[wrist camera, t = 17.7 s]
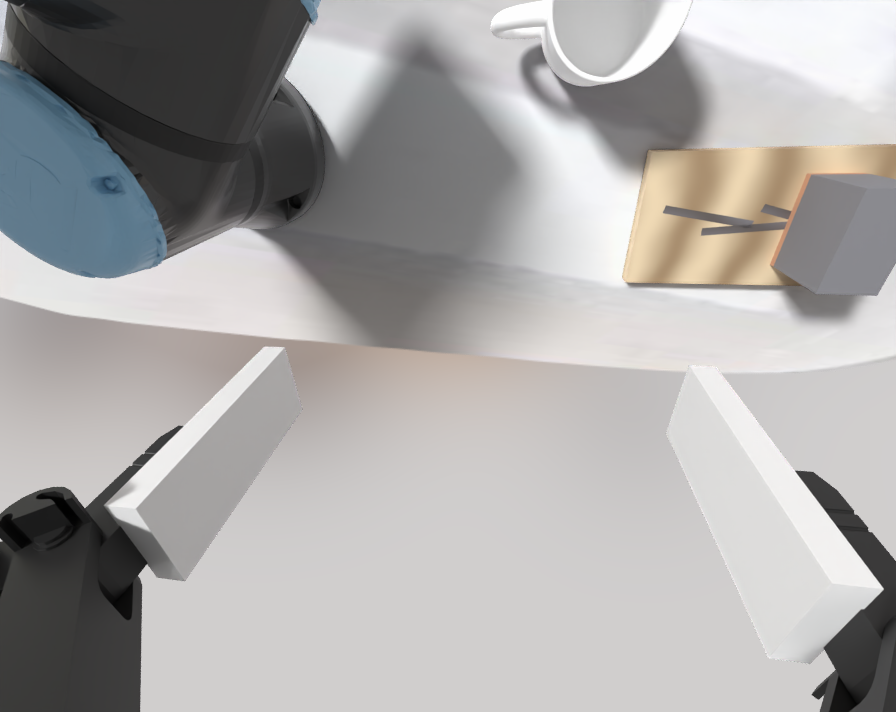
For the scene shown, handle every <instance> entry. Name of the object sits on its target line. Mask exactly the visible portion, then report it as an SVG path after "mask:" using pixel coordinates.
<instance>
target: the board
mask: <svg viewBox="0 0 896 712" xmlns="http://www.w3.org/2000/svg"><path fill="white" fill-rule="evenodd" d="M807 173H868V174H873V175H878V176H883V177H887V178H892V179H896V144H886V145H843V146H799V147H756V148H712V149H669V150H648V153H647V158H646V163H645V167H644V172H643V177H642V182H641V187H640V192H639V197H638V202H637V207H636V212H635V216H634V221H633V226H632V231H631V236H630V241H629V246H628V251H627V256H626V261H625V266H624V270H623V275H622V278H623V279H624V281H625V282H629V283H682V284H735V285H788V286H802V285H801V284H799V283H798V282H796V281H795V280H793V279H791V278H790V277H788V276H787V275H785V274H784V273H782V272H781V271H779V270H778V269H776V268H774V267H773V266H771V265H770V263H771V261H772V258H773V256H774V253H775V251H776V248H777V246H778V243H779V241H780V238H781V236H782V234H783V231H784V229H785V226H786V224H787V221H788V219H789V216H790V214H791V211H792V209H793V207H794V204H795V202H796V199H797V197H798V194H799V192H800V189H801V187H802V185H803V182H804V180H805V177H806V175H807Z"/></svg>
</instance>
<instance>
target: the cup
mask: <svg viewBox="0 0 896 712" xmlns="http://www.w3.org/2000/svg"><path fill="white" fill-rule="evenodd" d="M692 2H693V0H546V1H539V2H533V3H527V4H521V5H517V6H513V7H510V8H507V9H505V10H502V11H501V12H499V13H498V14H497V15H496V16H495V17H494V18H493V20H492V22H491V32H492V33H493V35H494V36H496V37H497V38H501V39H535V38H541V44H542V49H543V53H544V56H545V58H546V61H547V63H548V65H549V66H550V68H551V69H552V70H553V72H554V73H555V74H556V75H557V76H558V77H560V78H561V79H562V80H564V81H565V82H568V83H570V84H573V85H577V86H595V85H601V84H607V83H613V82H618V81H622V80H625V79H628V78H631V77H633V76H635V75H637V74H639V73H640V72H642V71H644V70H645V69H647V68H648V67H649V66H651V65H652V64H653V63H654V62H655V61H657V60H658V59H659V58H660V57H661V56H662V55H663V54H664V53H665V51H666V50H667V49H668V48H669V47H670V45H671V44H672V43H673V41H674V40H675V38H676V37H677V35H678V34H679V32H680V30H681V28H682V27H683V25H684V23H685V20H686V18H687V16H688V13H689V11H690V8H691V5H692Z"/></svg>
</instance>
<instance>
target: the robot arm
mask: <svg viewBox="0 0 896 712" xmlns="http://www.w3.org/2000/svg"><path fill="white" fill-rule="evenodd" d="M5 1H7V2H8V5H7V12H6V20H5V27H4V35H3V43H2V49H1V53H0V231H1V232H2V233H4V234H5V235H6V236H7V237H9V238H10V239H11V240H12V241H14V242H15V243H17V244H18V245H19V246H21V247H22V248H24V249H25V250H27V251H28V252H30V253H31V254H33V255H34V256H36V257H38V258H39V259H41V260H43V261H45V262H46V263H48V264H50V265H53V266H55V267H57V268H59V269H62V270H64V271H67V272H70V273H73V274H76V275H80V276H85V277H91V278H95V277H99V278H116V277H121V276H124V275H127V274H131V273H134V272H137V271H141V270H144V269H150V268H152V267H155V266H158V264H161V263H162V261H163V260H165V259H168V258H170V257H172V256H174V255H176V254H178V253H180V252H183V251H185V250H187V249H189V248H191V247H193V246H195V245H197V244H200V243H202V242H204V241H206V240H208V239H210V238H212V237H215V236H217V235H219V234H221V233H223V232H225V231H227V230H229V229H231V228H233V227H237V228H249V229H271V228H276V227H280V226H283V225H285V224H287V223H289V222H291V221H293V220H295V219H297V218H298V217H300V216H301V215H303V214H304V213H305V212H306V211H307V210H308V209H309V208H310V207H311V206H312V205H313V203H314V202H315V200H316V198H317V196H318V194H319V192H320V189H321V186H322V183H323V178H324V169H325V158H324V149H323V143H322V139H321V135H320V132H319V129H318V126H317V123H316V121H315V119H314V117H313V114H312V113H311V111H310V109H309V107H308V105H307V104H306V102H305V101H304V99H303V98H302V96H301V95H300V94H299V93H298V91H297V90H296V89H295V88H294V87H293V86H292V84H291V83H290V82H288V81H287V80H286V79H285V78H284V76H285V74H286V72H287V70H288V68H289V66H290V64H291V62H292V60H293V58H294V56H295V54H296V52H297V50H298V48H299V46H300V44H301V42H302V40H303V38H304V36H305V34H306V32H307V30H308V28H309V25H310V23H311V24H313V25H314V24H315V23H316V21H317V18H318V13H317V8H318V6H319V4H320V2H321V0H5ZM302 410H303V408H302V405H301V401H300V398H299V394H298V391H297V387H296V385H295V381H294V377H293V374H292V370H291V367H290V364H289V360H288V357H287V353H286V349H285V348H284V347H264V348H263V349H262V350H261V351H260V352H259V353H258V354H257V355H256V356H254V357H253V359H251V360H250V361H249V362H248V363H247V364H246V365H245V367H243V369H241V370H240V371H239V372H238V373H237V374H236V376H234V377H233V378H232V379H231V380H230V381H229V382H228V383H227V384H226V385H225V386H224V387H223V388H222V389H221V390H220V391H219V392H218V393H217V394H216V395H215V396H214V397H213V398H212V399H211V400H210V401H209V402H208V403H207V404H206V405H205V406H204V407H203V408H202V409H201V410H200V411H199V412H198V413H197V414H196V415H195V416H194V417H193V418H192V419H191V420H190V421H189V422H188V423H187V424H186V425H185V426H177V427H176V428H174V429H173V430H171V431H170V432H168V433H166V434H164V435H163V436H161V437H160V438H158V440H156V441H155V442H154V443H153V444H152V445H151V446H150V447H149V448H148V449H147V450H146V451H145V454H142V455H141V456H140V457H139V458H137V459H136V460H135V461H134V462H133V465H132V466H129V467H128V468H127V469H126V470H125V471H124V472H123V473H122V474H121V475H120V476H119V477H117V479H115V480H114V482H112V483H111V484H110V485H109V486H108V487H107V488H106V489H105V490H104V491H103V492H102V493H101V494H100V495H99V496H98V497H96V498H95V499H94V500H93V501H92V502H91V503H90V504H89V505H88V506H87V507H86V508H84V507H83V506H82V504H81V503H80V502H79V501H78V499H77V498H76V497H75V495H74V494H73V493H72V492H71V491H70V490H69V489H67V488H65V487H51V488H47V489H43V490H39V491H37V492H34V493H32V494H30V495H28V496H25V497H23V498H22V499H20V500H18V501H17V502H15V503H14V504H12V505H11V506H9V507H8V508H7V509H5V510H4V511H3V512H2V513H1V514H0V538H1V539H2V540H3V541H2V542H0V712H140V685H141V679H140V678H141V619H142V616H141V615H142V584H141V580H140V578H139V577H138V575H139V573H140V572H141V571H142V569H143V568H144V567H145V565H147V564H148V566H149V567H150V568H151V570H152V571H153V572H154V574H155V575H156V576H157V577H158V578H165V579H172V580H180V581H185V580H186V579H187V578H188V576H189V575H190V573H191V572H192V570H193V569H194V567H195V566H196V564H197V563H198V561H199V560H200V559H201V557H202V556H203V554H204V553H205V551H206V550H207V548H208V547H209V545H210V544H211V542H212V541H213V540H214V538H215V537H216V535H217V533H218V532H219V531H220V529H221V528H222V526H223V525H224V523H225V522H226V521H227V519H228V518H229V516H230V515H231V513H232V512H233V510H234V509H235V507H236V506H237V504H238V503H239V502H240V500H241V499H242V497H243V496H244V494H245V493H246V491H247V490H248V488H249V487H250V485H251V484H252V483H253V481H254V480H255V478H256V477H257V475H258V474H259V472H260V471H261V469H262V468H263V467H264V465H265V464H266V462H267V460H268V459H269V458H270V456H271V455H272V453H273V452H274V450H275V449H276V448H277V446H278V445H279V443H280V442H281V440H282V439H283V437H284V436H285V434H286V433H287V431H288V430H289V429H290V427H291V425H292V424H293V423H294V421H295V420H296V418H297V417H298V415H299V414H300V412H301V411H302ZM666 434H667V436H668V438H669V440H670V443H671V445H672V447H673V449H674V452H675V454H676V456H677V458H678V460H679V463H680V465H681V467H682V469H683V471H684V474H685V476H686V478H687V480H688V482H689V484H690V487H691V489H692V491H693V493H694V495H695V498H696V500H697V502H698V504H699V506H700V509H701V511H702V513H703V515H704V518H705V520H706V522H707V524H708V526H709V528H710V531H711V533H712V535H713V537H714V540H715V542H716V544H717V546H718V548H719V551H720V553H721V555H722V557H723V559H724V561H725V564H726V566H727V568H728V570H729V573H730V575H731V577H732V579H733V581H734V584H735V586H736V588H737V590H738V592H739V595H740V597H741V599H742V601H743V603H744V605H745V608H746V610H747V612H748V614H749V617H750V619H751V621H752V623H753V625H754V628H755V630H756V632H757V634H758V636H759V638H760V640H761V643H762V645H763V647H764V650H765V652H766V654H767V656H768V658H772V659H779V660H786V661H794V662H801V663H809V664H810V663H811V662H812V661H813V660H814V659H815V658H816V657H817V656H818V655H819V654H820V653H821V652H822V651H823V650H824V649H825V651H826V653H827V655H828V657H829V658H830V660H831V662H832V664H833V665H834V667H835V669H836V670H835V671H834V672H833V673H832V674H831V675H830V676H829V677H828V678H826V679H825V680H824V681H823V682H822V683H821V684H820V685H819V686H818V687H817V688H816V689H815V691H814V692H813V694H812V695H813V696H814V697H815V698H817V699H820V698H821V697H822V696H823V695H824V694H825V695H824V698H823V702H822V706H821V709H820V712H896V561H895V560H894V558H893V557H892V556H891V555H890V554H889V552H888V551H887V550H886V549H885V548H884V546H883V545H882V544H881V543H880V542H879V540H878V539H877V538H876V537H875V535H874V534H873V533H872V532H869V531H868V527H867V526H866V525H865V524H864V522H863V521H862V520H861V519H860V518H859V516H858V515H855V514H854V510H853V509H852V508H851V507H850V505H849V504H848V503H847V502H846V500H845V499H844V498H843V497H842V496H841V494H840V493H839V492H838V491H837V490H836V489H835V488H833V487H832V486H831V485H830V484H828V483H827V482H826V481H824V480H823V479H821V478H820V477H819V476H818V475H816V474H815V473H814V472H807V471H794V469H793V468H792V467H791V465H790V464H789V463H788V461H787V460H786V459H785V457H784V456H783V455H782V454H781V452H780V451H779V449H778V448H777V447H776V445H775V444H774V443H773V441H772V440H771V439H770V438H769V436H768V435H767V434H766V432H765V431H764V430H763V428H762V427H761V426H760V424H759V423H758V422H757V421H756V419H755V418H754V416H753V415H752V414H751V412H750V411H749V410H748V408H747V407H746V406H745V404H744V403H743V402H742V400H741V399H740V398H739V397H738V395H737V394H736V393H735V391H734V390H733V388H732V387H731V386H730V384H729V383H728V382H727V381H726V379H725V378H724V377H723V375H722V374H721V373H720V371H719V370H718V369H717V367H714V366H692V365H689V366H688V369H687V372H686V375H685V378H684V381H683V384H682V387H681V390H680V393H679V396H678V399H677V402H676V405H675V408H674V411H673V414H672V417H671V420H670V423H669V426H668V429H667V432H666Z"/></svg>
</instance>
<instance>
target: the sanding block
mask: <svg viewBox="0 0 896 712" xmlns="http://www.w3.org/2000/svg"><path fill="white" fill-rule="evenodd" d="M895 264H896V179H892V178H887V177H883V176H878V175H873V174H868V173H807V175H806V177H805V180H804V182H803V185H802V187H801V189H800V192H799V194H798V197H797V199H796V202H795V204H794V207H793V209H792V211H791V214H790V216H789V219H788V221H787V224H786V226H785V229H784V231H783V234H782V236H781V238H780V241H779V243H778V246H777V248H776V251H775V253H774V256H773V258H772V261H771V263H770V265H771V266H773V267H774V268H776V269H778V270H779V271H781V272H782V273H784V274H785V275H787V276H788V277H790V278H791V279H793V280H795V281H796V282H798V283H799V284H801V285H802V286H804V287H805V288H807V289H809V290H810V291H812V292H813V293H815V294H834V295H871V296H877V295H878V293H879V291H880V290H881V288H882V286H883V284H884V283H885V281H886V279H887V277H888V276H889V274H890V272H891V270H892V269H893V267H894V265H895Z"/></svg>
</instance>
